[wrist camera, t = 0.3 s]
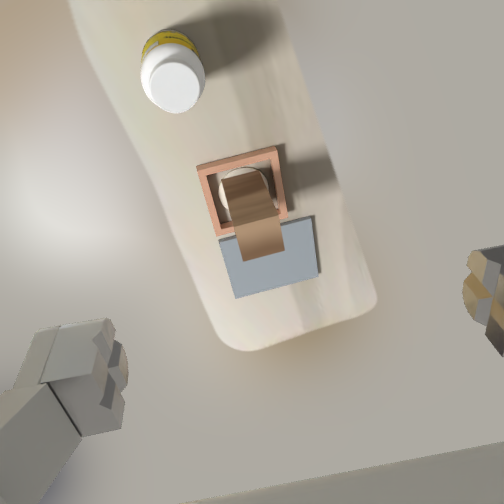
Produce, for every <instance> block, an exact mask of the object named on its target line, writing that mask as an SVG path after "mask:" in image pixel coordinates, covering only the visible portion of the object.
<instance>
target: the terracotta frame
mask: <svg viewBox="0 0 504 504" xmlns="http://www.w3.org/2000/svg"><path fill="white" fill-rule="evenodd" d="M268 159H270V162H271V168H272V174H273V179H274V185H275V190H276V196H277V202H278V207H279V209H276V210H277V213H278V215H279V220H281V219H284V218H288V213H287V207H286V201H285V195H284V189H283V183H282V177H281V171H280V165H279V159H278V153H277V149H276V147H275V146H272V147H269V148H265V149H261V150H257V151H253V152H249V153H245V154H241V155H238V156H234V157H230V158H226V159H222V160H218V161H214V162H210V163H207V164H203V165H199V166H196V168H197V172H198V176H199V179H200V182H201V186H202V189H203V192H204V196H205V199H206V203H207V206H208V209H209V213H210V216H211V219H212V223H213V226H214V230H215V233H216V236H220V235H224V234H227V233H231V232H235V230H234V227H233V223H232V221H230V222H226V223H223V224H220V222H219V218H218V215H217V211H216V208H215V204H214V201H213V197H212V194H211V190H210V187H209V183H208V180H207V176H206V175H210V174H214V173H217V172H221V171H225V170H229V169H233V168H237V167H241V166H245V165H248V164H252V163H256V162H260V161H264V160H268ZM252 171H256V169H253V168H249V167H243V168H238V169H235V170H232V171H231V172H229V173H228V174H227V175H226V176H225V177H224V178H223V179H226V178H229V177H233V176H237V175H241V174H245V173H249V172H252ZM260 174H261V176H262V178H263V180H264V183H265V185H266V187H267V190H268V191H269V186H268V182H267V180H266V178H265V176H264V175H263V174H262V173H261V172H260ZM218 194H219V199H220V201H221V203H222V204H223V206H224V207H225V208H227V209H228V210H229V208H228V204H227V200H226V197H225V193H224V189H223V185H222V181H221V183H220V185H219V190H218Z"/></svg>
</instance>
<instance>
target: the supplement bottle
mask: <svg viewBox="0 0 504 504" xmlns="http://www.w3.org/2000/svg"><path fill="white" fill-rule="evenodd" d="M141 83H142V86H143V89H144V91H145V93H146V95H147V96H148V98H149V99H150V100H151V101H152V102H153V103H154V104H156V105H157V106H159V107H160V108H161V109H163V110H165V111H167V112H170V113H182V112H185V111H187V110H189V109H191V108H192V107H193V106H194V105H195V103H196V102H197V100H198V99H199V98H200V96H201V94H202V92H203V90H204V86H205V72H204V68H203V65H202V62H201V60H200V57H199V54H198V51H197V49H196V47H195V45H194V44H193V43H192V41H191V40H190V39H189V38H188V37H187V36H185V35H184V34H182V33H180V32H178V31H174V30H163V31H160V32H157V33H156V34H154V35H153V36H151V37H150V38H149V40H148V41H147V42H146V44H145V46H144V49H143V52H142V60H141Z"/></svg>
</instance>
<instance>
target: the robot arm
mask: <svg viewBox="0 0 504 504" xmlns="http://www.w3.org/2000/svg"><path fill="white" fill-rule="evenodd" d="M467 267H468V268H469V269H470V270H471V274H470V275H469V276H468V277H467V278H466V279H465V280H464V283H463V291H462V293H463V299H464V304H465V306H466V309H467V310H468V313H469V314H470V315H471V317H472V318H473V320H475V321H476V322H479V323H481V324H483V325H485V326H486V332H485V335H486V337H487V338H488V339H489V341H490V342H491V343H492V345H493V346H494V347H495V348H496V350H497V351H498V352H499V354H500V355H501V356H502V357H504V245H500V246H495V247H490V248H484V249H479V250H474V251H472V252H471V253H470V255H469V257H468V261H467ZM115 331H116V330H115V328H114V326H113V324H112V322H111V320H110V319H108V318H102V319H96V320H90V321H84V322H77V323H72V324H65V325H62V326H55V327H49V328H43V329H39V330H38V331H37V332H36V333H35V334H34V337H33V339H32V341H31V344H30V346H29V349H28V351H27V354H26V356H25V359H24V361H23V364H22V366H21V369H20V372H19V374H18V377H17V379H16V382H15V384H14V387H13V389H12V390H7V391H4V392H3V394H1V395H0V504H38V503H39V501H40V500H41V498H42V497H43V495H44V494H45V492H46V491H47V490H48V488H49V487H50V485H51V484H52V482H53V481H54V479H55V478H56V477H57V475H58V474H59V472H60V471H61V469H62V468H63V466H64V465H65V464H66V462H67V461H68V459H69V458H70V456H71V455H72V453H73V452H74V450H75V449H76V448H77V446H78V445H79V443H80V442H81V440H82V438H81V437H85V436H90V435H95V434H99V433H104V432H109V431H113V430H118V429H121V425H122V419H123V412H124V405H125V401H124V399H123V397H122V395H121V392H122V391H123V390H124V388H125V387H126V386H127V383H128V361H127V357H126V353H125V350H124V349H123V346H122V344H120V343H119V342H117V341H116V340H114V337H115ZM181 504H504V442H499V443H494V444H489V445H483V446H478V447H473V448H468V449H463V450H458V451H452V452H447V453H442V454H437V455H431V456H426V457H421V458H416V459H411V460H406V461H400V462H395V463H390V464H385V465H379V466H374V467H369V468H364V469H359V470H353V471H348V472H343V473H338V474H332V475H328V476H322V477H317V478H312V479H307V480H301V481H296V482H291V483H286V484H280V485H275V486H270V487H265V488H259V489H254V490H249V491H244V492H239V493H233V494H228V495H223V496H218V497H213V498H207V499H202V500H197V501H191V502H186V503H181Z"/></svg>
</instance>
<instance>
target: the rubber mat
mask: <svg viewBox="0 0 504 504" xmlns="http://www.w3.org/2000/svg"><path fill="white" fill-rule="evenodd" d="M280 225H281V231H282V237H283V242H284V248H285V251H282V252H278V253H275V254H271V255H267V256H263V257H260V258H256V259H252V260H248V261H245V262H243V260H242V256H241V252H240V249H239V245H238V241H237V238H236V236H232V237H228V238H224V239H220V240H219V244H220V248H221V251H222V255H223V258H224V261H225V265H226V268H227V271H228V275H229V278H230V282H231V285H232V288H233V292H234V295H235V299H237V298H241V297H244V296H248V295H252V294H255V293H259V292H263V291H267V290H270V289H274V288H278V287H282V286H285V285H289V284H293V283H296V282H300V281H304V280H308V279H311V278H315V277H319V276H318V268H317V261H316V253H315V245H314V237H313V229H312V221H311V217H310V216H308V217H304V218H300V219H296V220H292V221H289V222H285V223H281V224H280Z"/></svg>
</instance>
